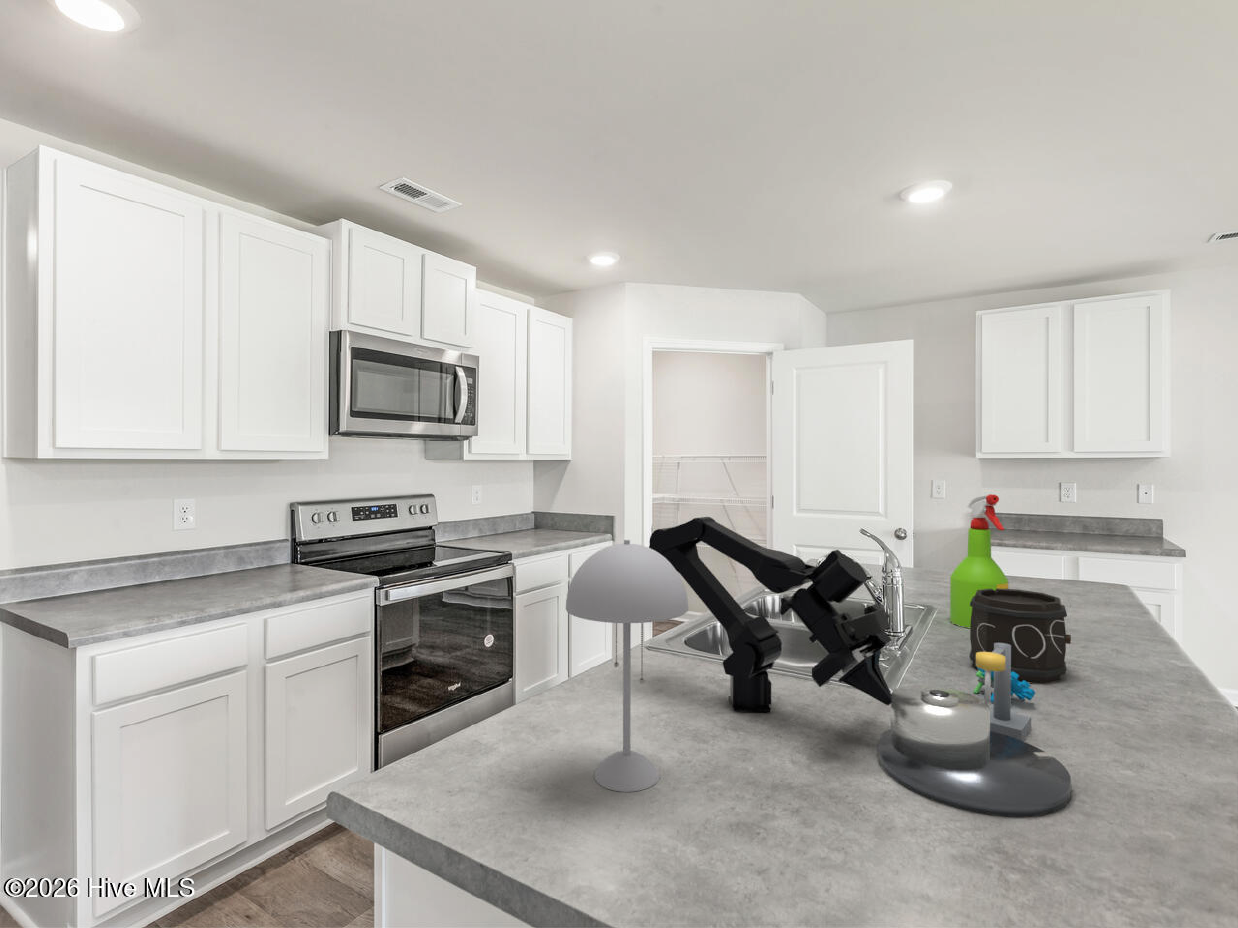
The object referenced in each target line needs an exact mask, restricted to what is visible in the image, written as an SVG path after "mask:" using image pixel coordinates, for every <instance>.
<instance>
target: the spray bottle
mask: <svg viewBox="0 0 1238 928" xmlns="http://www.w3.org/2000/svg"><path fill="white" fill-rule="evenodd" d="M999 501H1000V497H999V496H998V495H996V494H992V493H991V494H984V495H979V496H976V497H974V498H973V499H971V501H969V503H968V505H967V508H969V509H971V518H972V519H971V521H970V528H968V533H967V534H968V537H967V538H968V539H967V555H966V556H965V558H964V559H962V561H960V563H958V565H957V566H956V567H955V569H954V570H953V572H952V573H951V574H950V583H949V584H950V585H949V587H950V595H949V598H950V599H949V600H950V602H949V605H950V606H949V607H950V608H949V616H950V617H949V622H950V621H951V622H952V623H954V624H957V625H960V626H964V627H969V628H970V622H971V614H972V607H971V606H970V603H971V600H972V597H973V596H975V594H976V592H977V590H983V589H993V590H994V591H995V590H996V589H1009V580H1008V578H1007V576H1006V575H1005V573H1004V571H1003V570H1002V569H1001V567H1000V566H999V564H997V562H996V561H995V560H994V558H993V557H992V535H991V534H992V533H991V532H992V531H991V530H992V529H990V527H989V526H990V524H989V521H990V522H991V523H992V524H993V526H994V527H995V528H996V529H997V530H999V531H1005V528H1004V526H1003V524H1002V523H1001V522H1000V519H999V518H998V516H996V509H995V506H997V503H999ZM987 519H988V520H989V521H988V520H987ZM951 622H950V623H951ZM952 623H951V624H952ZM954 624H953V625H954Z"/></svg>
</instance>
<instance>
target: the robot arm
mask: <svg viewBox="0 0 1238 928" xmlns="http://www.w3.org/2000/svg"><path fill="white" fill-rule="evenodd" d="M699 543H704V544H706V545H708V546H709V547H710V548H713V549H714V550H716V551H718V552H720V553H722V554H724V556H726V557H728V558H730V559H732V560H734V561H735V562H737V563H738V564H740V565H742V566H744V567H745V568H747V569H748V570H749V571H750V572H751V573H752V575H753V576H754V578H755V579H756V581H758V582H759V583H760V584H761V585H763V586H764V587H765V588H766V589H767V590H768V591H770V592H771V593H775V594H782V593H786V592H790V591H792V590H795V589H796V591H795V592H794V593H793V594H792V595H791V596H785V597H782V598H781V599H780V602H781V604H780V607H779V608H780V610H779V615H781V616H785V615H787V614H790V613H793V612H794V614H795V615H796V616H797V618H798V619H799V620H800V621H801V623H802V624H803V625H804V627H806V629H807V630H808V631H809V633H810V634H811V635H810V636H809V637H808V639H809V641H810V642H811V643H812V644H814V643H818V644H819V645H820V647H821V648H822V649H823V650H824V651H825V652H826V654H827V655H826V656H825V657H823V658H822V659H821V660H820V661H819V662H818V663H817V664H816V665H814V666H813V667H812V668H811V678H812V679H813V681H814V682H815V683H816V684H817V686H818V687H819V688H821V687H823V686H826V685H827V684H829V682H830V680H831V679H833V678H834V677H835V676H836V675H837V674H838V673H839V672H841V673H842V674H843V675H842V676H841V677H840V678H839V679H837V681H838V682H839V683H844V684H846V685H849V686H850V687H852V688H855V689H856V690H859V691H861V692H863V693H864V694H866V695H868V696H870V697H871V698H873V699H875V700H876V701H879V702H880V703H882V704H884V705H886V706H889V705H891V694H892V692H891V691H890V689H889V687H888V683H887V682H886V680H885V677H884V675H883V673H882V670H881V667H880V656H881V654H882V650H883V648H885V647H886V646H887V645H889V643H891V642H892V641H893V639H892V638H891V637H890V636H889V635H888V634H887V632H886V631H885V630H890V629H891V626H890V624H889V620H888V619H889V618H890V614H889V613H888V612H887V611H885V609H884V608H882V607H881V606H880V605H878V604H877V603H875V604H872V605H869V606H866V607H864V610H863V612H864V613H863V614H861V615H859V616H856V617H852V616H851V615H850V614H849V613H848V612H842V613H840V612H839V610H838V609H837V608H836V607H835V606H834V605H833V604H832V603H833V602H834V603H837V604H842V603H844V601H846V600H847V599H848V598H849V597H850V596H852V594H854V593H855V592H856V591H857V590H858V589H860V588H861V587H862V586H863V584H865V583H866V582H867V581H868V575H867V573H866V571H865V570H864V568H863V567H862V566H861V564H860V563H858V562H856V561H855V560H854V559H852V558H850V557H849V556H847V555H845V554H843V553H842V552H841V551H840V550H839V549H835V550H832V551H830V552H829V554H827V556H826V558H825V559H824V560H822V562H821V563H820V564H819V565H818V566H815V565H811V564H807V563H805V562H804V560H803V559H802V558H801V557H799V556H796V555H793V554H791V553H787V552H784V551H781V550H775V549H771V548H768V547H764V546H762V545H760V544H758V543H755V542H754V541H752V540H750V539H749V538H746V537H745V536H743V535H741V534H739V533H737V532H736V531H734V530H732V529H730V528H728V527H727V526H725V525H723V524H720V522H718V521H716V520H715V519H714V518H713V517H710V516H702V517H695V518H692V519H691V520H688V521H686V522H685V523H682V524H679V525H676V526H673V527H664V528H658V529H655V530H653V532H652V533H651V535H650V537H649V545H648V548H651V549H653V550H654V551H656V552H658V553H660V554H661V555H662V556H664V557H665V558H666V559H667V560H668V561H669V562H670V563H671V564H672V565H673V567H674V568H675V569H676V571H677V572H678V574H679V575H680V577H681V578H683V580H684V581H685V582H686V584H688V586H689V587H690V588H691V589H692V591H693V592H694V593H695V594H696V596H697V597H698V598H699V599H700V600H701V602H702V603H703V604H704V606H706V608H707V609H708V610H709V611H710V612H711V614H712V615H713V616H714V618H716V620H717V622H719V624H720V625H721V626H722V627H723V629H724V630H725V632H726V635H727V636H726V637H727V640H728V644H729V648H730V650H731V651H732V653H731V654H730V655H729V656H728V657H726V658H725V659H724V660H723V662H722V666H723V671H724V673H725V675H728V676H729V678H730V687H729V691H730V692H729V695H728V701H729V703H730V706H731V708H732V711H733V712H737V713H738V712H748V713H751V712H752V713H754V712H755V713H756V712H760V713H761V712H763V713H764V712H765V713H768V712H769V713H770V712H771V711H772V710H771V707H770V706H771V705H772V681H771V680H770V677H769V672H768V671H767V670H772V669H773V667H774V664H775V662H776V661H777V660H779V658H780V656H781V655H782V649H783V647H782V644H783V643H782V640H781V639H780V636H778V633H779V631H778V629H775V628H774V627H773V626H772V625H771V623H770V622H769V621H768V619H767V618H766V617H765V616H764V615H759V616H755V617H753V616H750V615H749V614H747V612H746V611H745V610H744V609H743V608H742V606H741V605H740V604H739V603H738V602H737V601H736V600H735V599H734V597H733V596H732V594H731V593H729V591H728V590H727V589H726V588H725V587H724V586H723V584H722V583H721V582H720V581H719V580H718V578H717V577H716V576H715V575H714V573H713V572H712V571H711V570H710V569H709V567H708V566H707V565H706V564H705V563H704V561H703V560H702V559H701V558H700V556H699V553H698V552H699V551H698V546H697V545H698V544H699ZM808 583H811V584H810V585H809V586H808V587H807V588H805V587H802V586H803V585H805V584H808Z"/></svg>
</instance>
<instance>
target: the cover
mask: <svg viewBox="0 0 1238 928" xmlns="http://www.w3.org/2000/svg"><path fill="white" fill-rule="evenodd" d="M990 708H991V707H990V705H988V704H987V703H986V702H985V700H983V699H982V698H979V697H978V696H975V695H973V694H970V693H968V692H965V691H961V690H957V689H953V688H948V687H942V686H935V685H924V684H923V685H921V684H920V685H918V684H917V685H914V684H913V685H905V686H904V685H903V686H900V687H898V688H895V689H893V691H891V704H890V726H891V727H890V729H891V743H892V746H893V747H894V748H895V749H896V750H897V751H898V752H900V753H901V754H903V755H905V756H906V757H908V758H911V759H913V760H915V761H918V762H921V763H924V764H928V765H932V766H936V767H941V768H948V769H974V768H979V767H982V766H984V765H986V764H987V763H988V762H989V760H990Z"/></svg>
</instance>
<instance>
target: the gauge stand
mask: <svg viewBox="0 0 1238 928" xmlns="http://www.w3.org/2000/svg"><path fill="white" fill-rule="evenodd" d="M976 666H977V667H978V668H981V669H984V670H985V686H984V702H986V703H987V704H988V705H989V706H990V705H991V703H992V702H991V695H992V689H991V688H992V687H991V671H994V688H993V692H994V703H993V708H992V707H990V731H993V732H997V733H1000V734H1004V735H1007V736H1010V737H1013V738H1016V739H1018V740H1021V741H1023V742H1024V740H1025V739H1026V738H1027V736H1028V735H1029V733H1030V732H1031V731H1032V717H1031V716H1028V715H1023V714H1018V713H1015V712H1011V708H1012V707H1011V704H1012V703H1011V699H1012V697H1011V696H1012V695H1011V645H1009V644H1006V643H994V651H992V652H977V653H976Z"/></svg>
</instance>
